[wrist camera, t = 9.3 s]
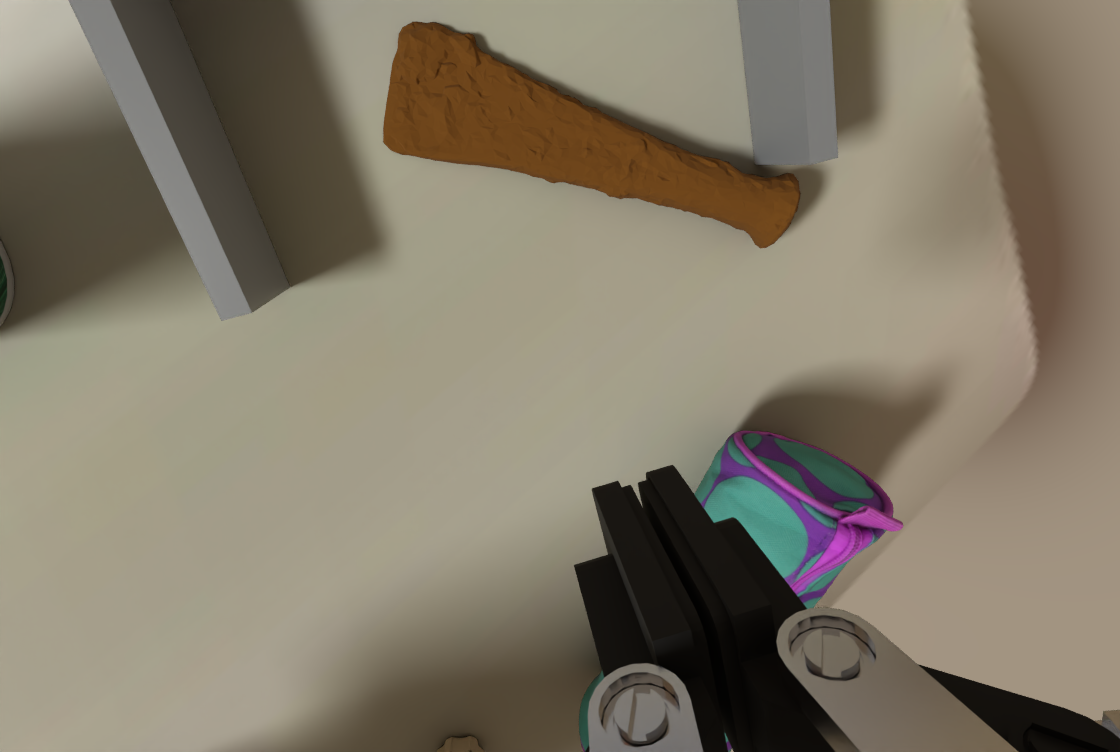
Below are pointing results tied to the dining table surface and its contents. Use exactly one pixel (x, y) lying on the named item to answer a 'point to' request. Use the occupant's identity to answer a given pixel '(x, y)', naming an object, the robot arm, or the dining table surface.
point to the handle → (461, 745)
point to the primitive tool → (559, 137)
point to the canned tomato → (5, 284)
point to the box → (223, 195)
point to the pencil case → (790, 513)
